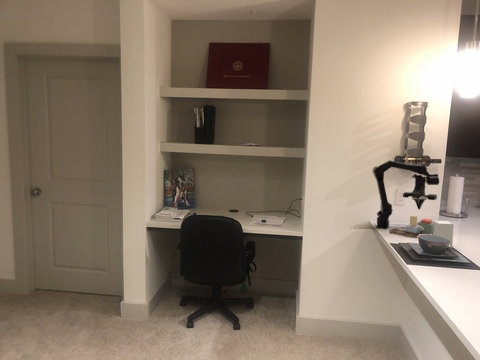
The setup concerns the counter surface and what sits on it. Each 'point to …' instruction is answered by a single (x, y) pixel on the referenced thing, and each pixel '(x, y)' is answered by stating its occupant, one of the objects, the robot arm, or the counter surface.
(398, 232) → the rail bed
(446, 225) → the supplement box
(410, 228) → the blue and cream block
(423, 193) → the robot arm
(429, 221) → the button
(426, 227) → the green jar
